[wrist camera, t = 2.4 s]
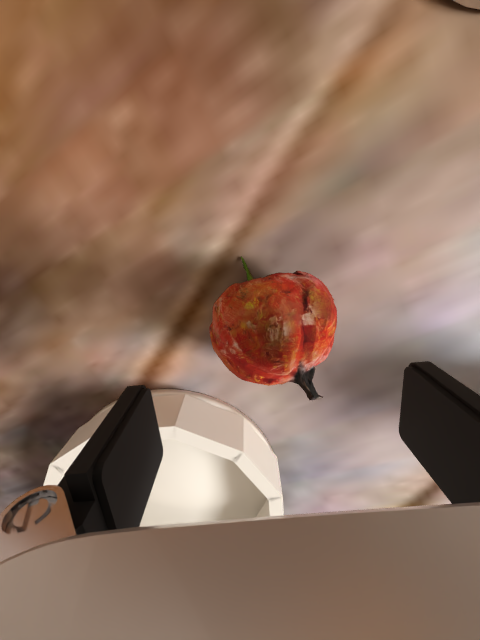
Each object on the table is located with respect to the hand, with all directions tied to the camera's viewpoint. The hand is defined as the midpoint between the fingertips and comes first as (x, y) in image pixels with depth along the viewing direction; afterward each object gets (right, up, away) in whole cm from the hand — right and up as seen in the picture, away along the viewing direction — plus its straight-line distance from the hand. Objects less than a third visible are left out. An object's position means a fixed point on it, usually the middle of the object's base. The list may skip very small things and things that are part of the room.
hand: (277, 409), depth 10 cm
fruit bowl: (-7, -11, +15) cm, 20 cm away
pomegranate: (+1, +4, +10) cm, 11 cm away
